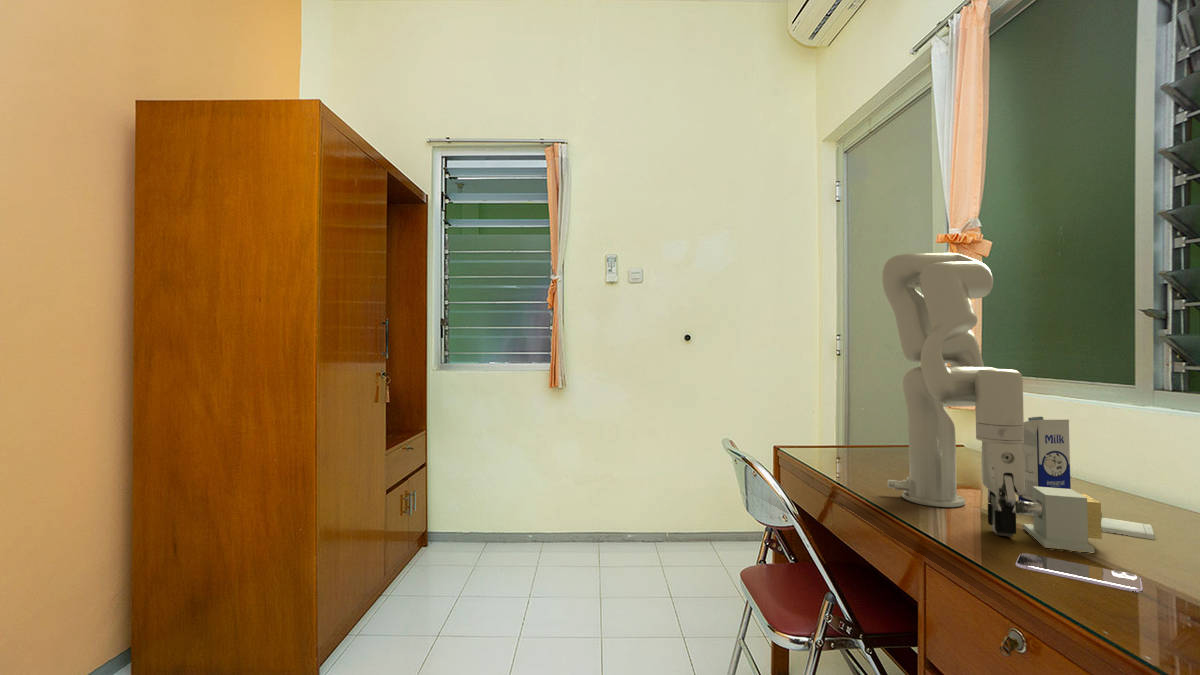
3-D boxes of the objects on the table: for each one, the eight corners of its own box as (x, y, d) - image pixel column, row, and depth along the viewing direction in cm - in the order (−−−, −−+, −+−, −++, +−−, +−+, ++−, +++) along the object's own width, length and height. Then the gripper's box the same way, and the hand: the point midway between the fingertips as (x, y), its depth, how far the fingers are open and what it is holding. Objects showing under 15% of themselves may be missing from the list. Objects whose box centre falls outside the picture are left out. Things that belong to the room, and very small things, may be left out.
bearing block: (1044, 548, 98) (1043, 497, 99) (1023, 528, 110) (1022, 482, 110) (1094, 553, 96) (1093, 501, 96) (1067, 532, 107) (1066, 486, 107)
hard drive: (1067, 520, 111) (1154, 533, 103) (1068, 511, 117) (1150, 523, 109) (1067, 529, 111) (1154, 542, 103) (1068, 519, 117) (1151, 531, 109)
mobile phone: (1020, 550, 96) (1141, 574, 86) (1020, 556, 96) (1141, 580, 86) (1014, 562, 90) (1142, 589, 80) (1014, 568, 90) (1143, 596, 80)
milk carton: (1040, 508, 123) (1038, 418, 124) (1017, 500, 130) (1015, 415, 131) (1072, 508, 124) (1069, 418, 124) (1047, 500, 130) (1045, 415, 131)
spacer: (1087, 537, 98) (1086, 501, 99) (1072, 527, 104) (1072, 493, 104) (1101, 539, 98) (1100, 502, 98) (1086, 528, 104) (1085, 494, 104)
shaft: (997, 535, 105) (996, 498, 105) (991, 528, 108) (990, 493, 108) (1104, 546, 98) (1103, 507, 99) (1095, 539, 102) (1093, 502, 102)
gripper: (1038, 440, 97) (1041, 545, 97) (1009, 428, 113) (1011, 518, 112) (988, 438, 100) (990, 540, 100) (966, 426, 116) (968, 514, 115)
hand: (1001, 527), depth 106 cm, fingers closed on shaft, 4 cm apart
